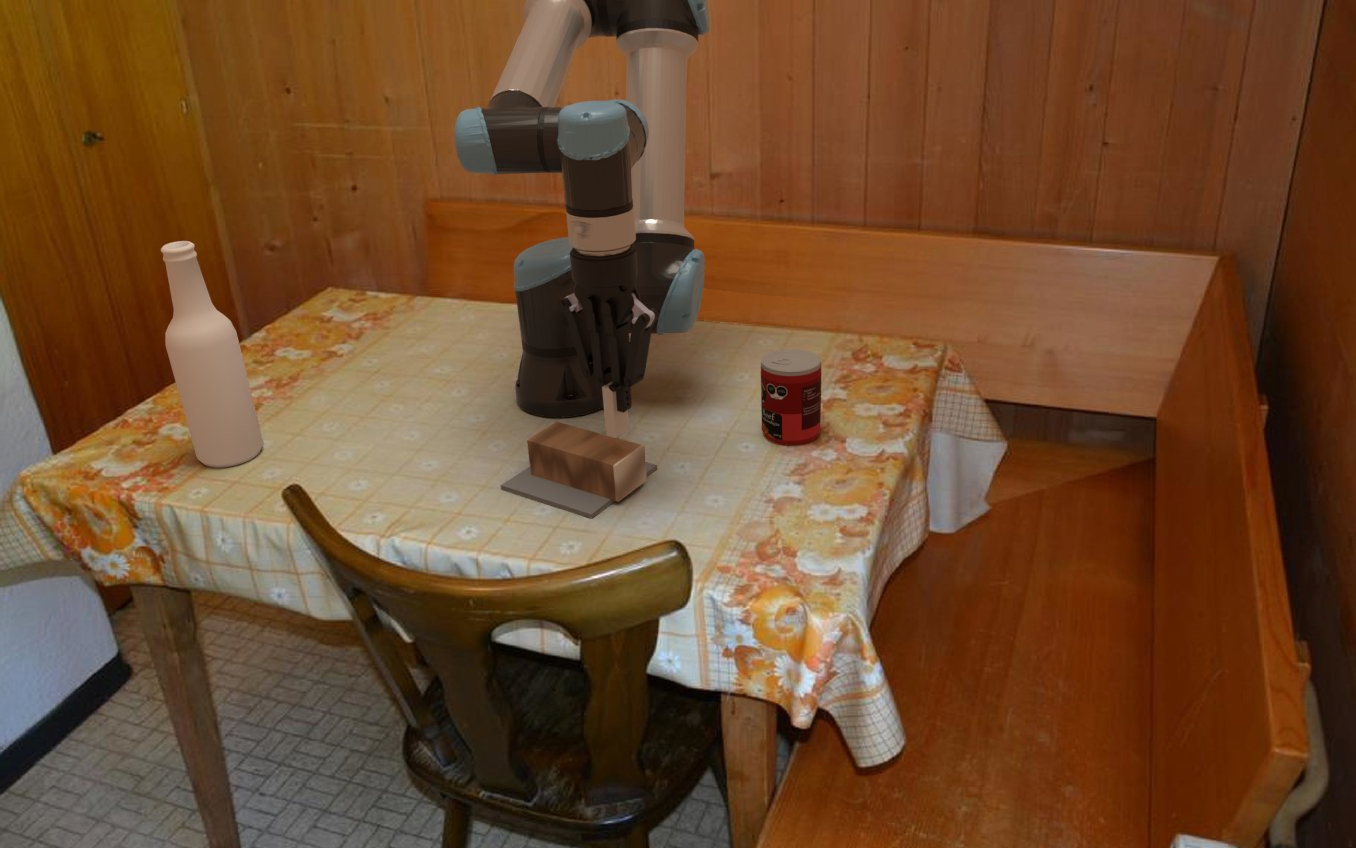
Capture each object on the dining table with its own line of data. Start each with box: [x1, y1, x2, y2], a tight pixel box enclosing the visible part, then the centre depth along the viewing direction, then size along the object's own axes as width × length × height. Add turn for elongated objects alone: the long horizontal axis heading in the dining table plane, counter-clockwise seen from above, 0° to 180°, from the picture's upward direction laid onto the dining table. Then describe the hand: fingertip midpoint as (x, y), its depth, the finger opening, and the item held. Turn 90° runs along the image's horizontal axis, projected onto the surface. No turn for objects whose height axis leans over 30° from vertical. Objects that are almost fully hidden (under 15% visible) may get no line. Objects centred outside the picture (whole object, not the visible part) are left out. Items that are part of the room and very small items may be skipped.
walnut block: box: [526, 421, 648, 502], centre depth 139 cm, size 5×6×14 cm
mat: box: [500, 461, 658, 519], centre depth 141 cm, size 14×14×1 cm
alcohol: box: [160, 240, 264, 469], centre depth 145 cm, size 9×9×30 cm
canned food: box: [760, 348, 822, 447], centre depth 147 cm, size 8×8×11 cm
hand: (617, 432), depth 134 cm, fingers closed
